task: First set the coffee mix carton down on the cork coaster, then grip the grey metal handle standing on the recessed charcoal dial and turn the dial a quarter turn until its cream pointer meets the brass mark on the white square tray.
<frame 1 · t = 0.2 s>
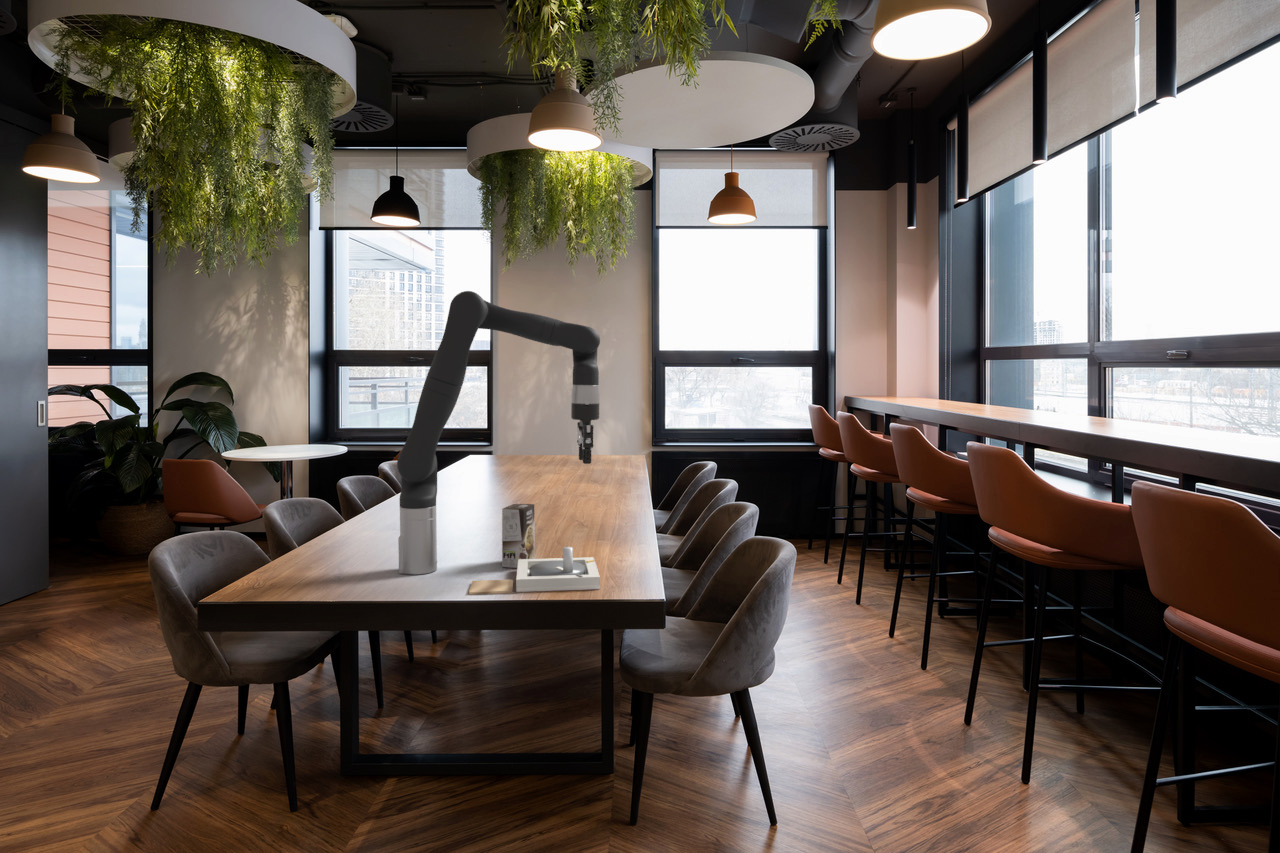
hand: (584, 461, 200), 28 cm above the table, fingers open, 8 cm apart
coffee box: (518, 564, 203), on the table
white square tray: (557, 579, 188), on the table
coaster: (491, 588, 179), on the table
dial: (557, 559, 187), point 5 cm above the table, hinge at 0.0°
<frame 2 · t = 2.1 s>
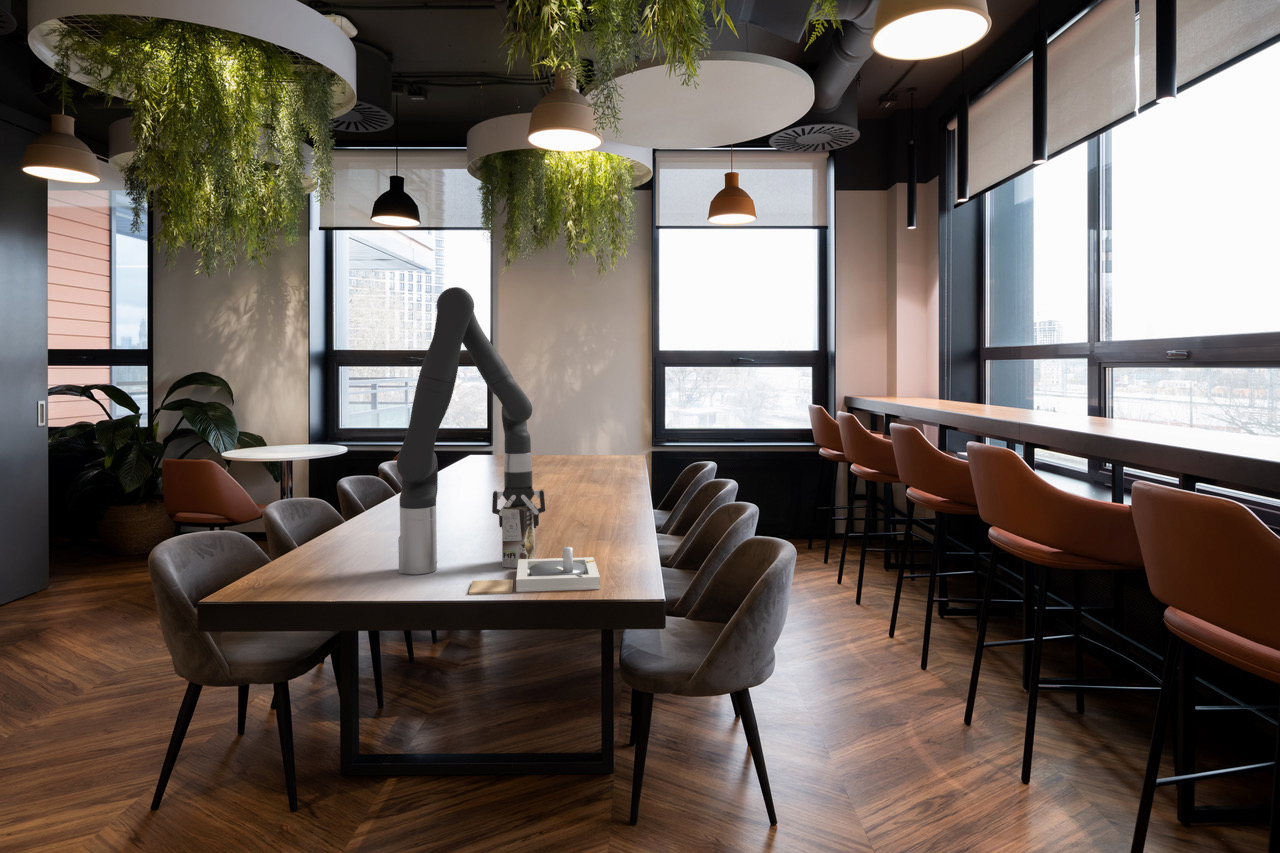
hand: (519, 528, 202), 10 cm above the table, fingers open, 8 cm apart
nothing on the table moved.
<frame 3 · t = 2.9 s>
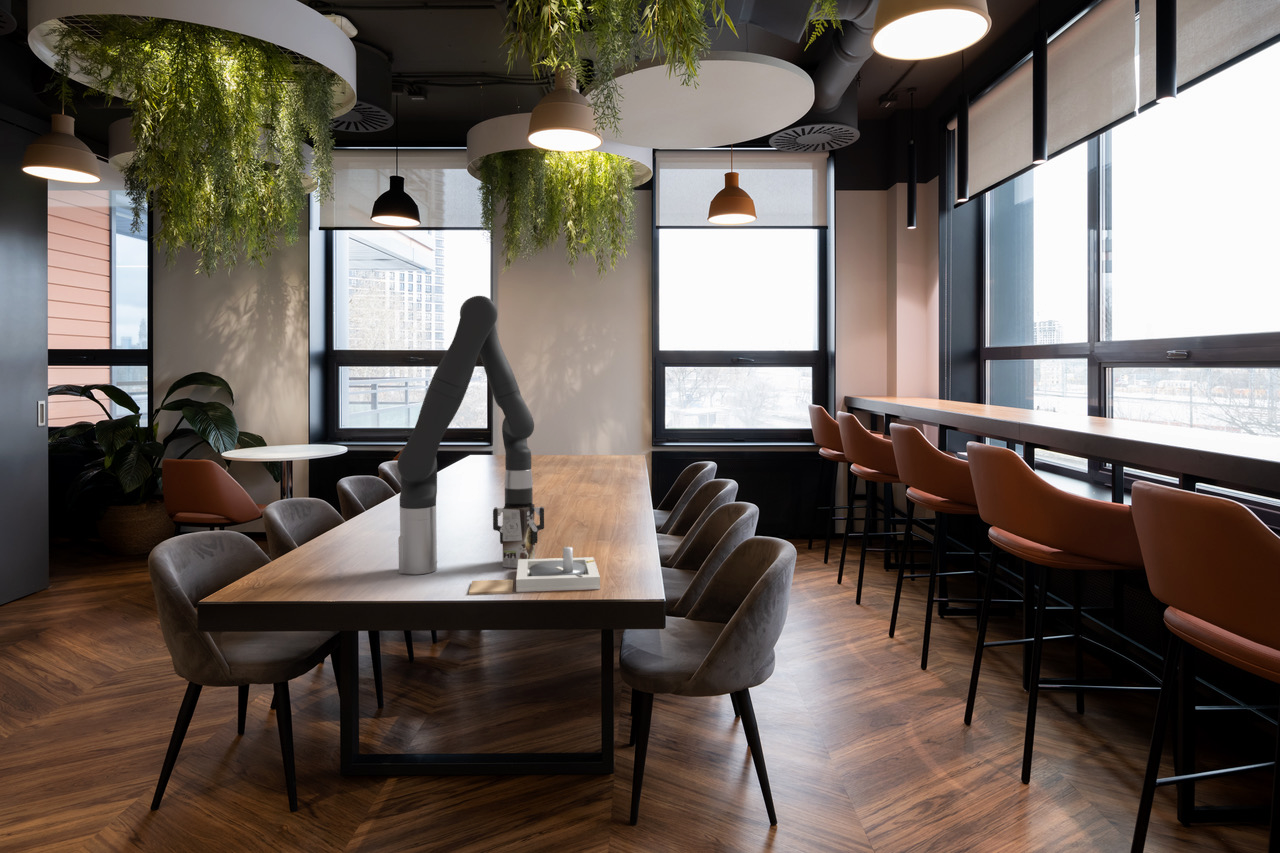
hand: (519, 545, 203), 5 cm above the table, fingers closed on coffee box, 7 cm apart
coffee box: (519, 564, 203), on the table, touching gripper
everything else where it was.
when the fingers open (7 cm above the table, at t = 9.5 s): coffee box drops 1 cm, resting on coaster.
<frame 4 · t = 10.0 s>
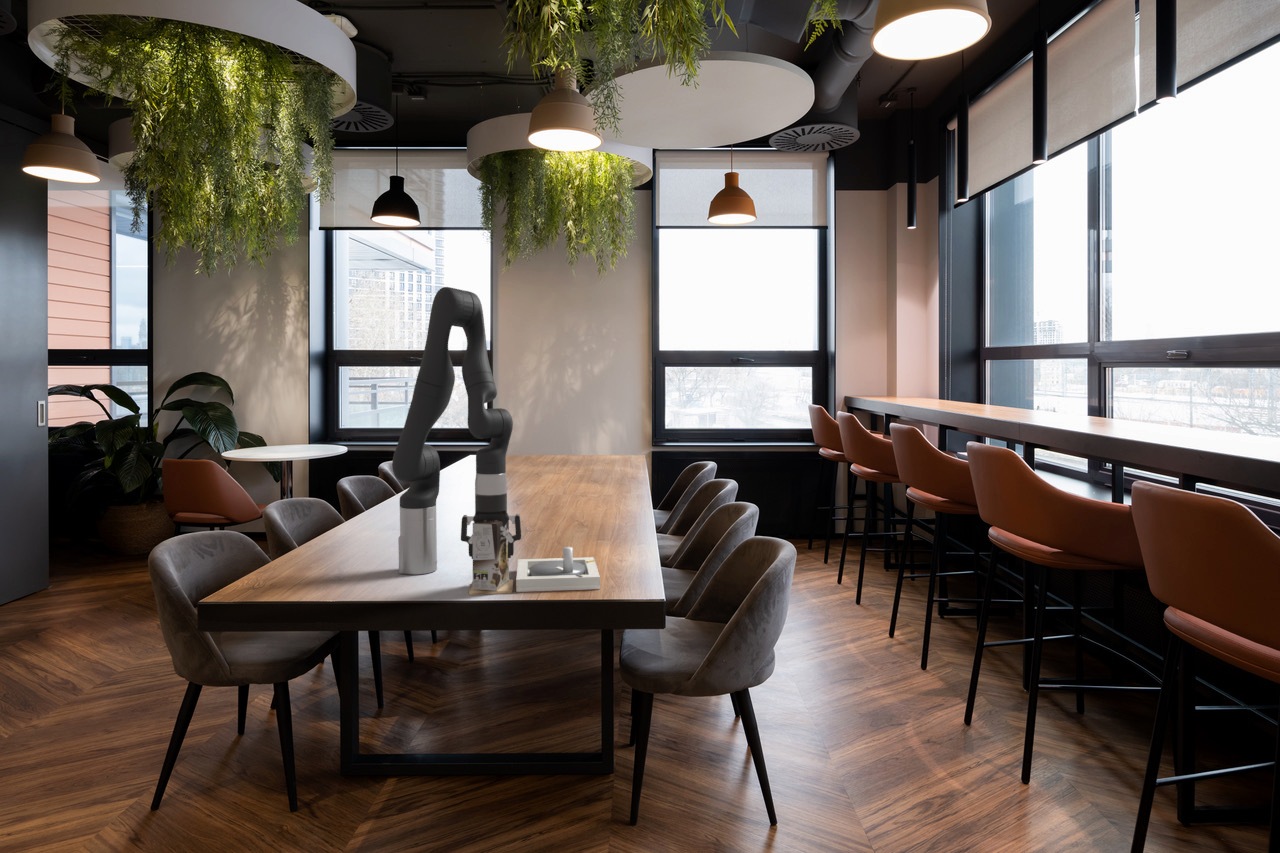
hand: (491, 557, 179), 7 cm above the table, fingers open, 8 cm apart
coffee box: (491, 586, 179), resting on coaster
everything else where it was.
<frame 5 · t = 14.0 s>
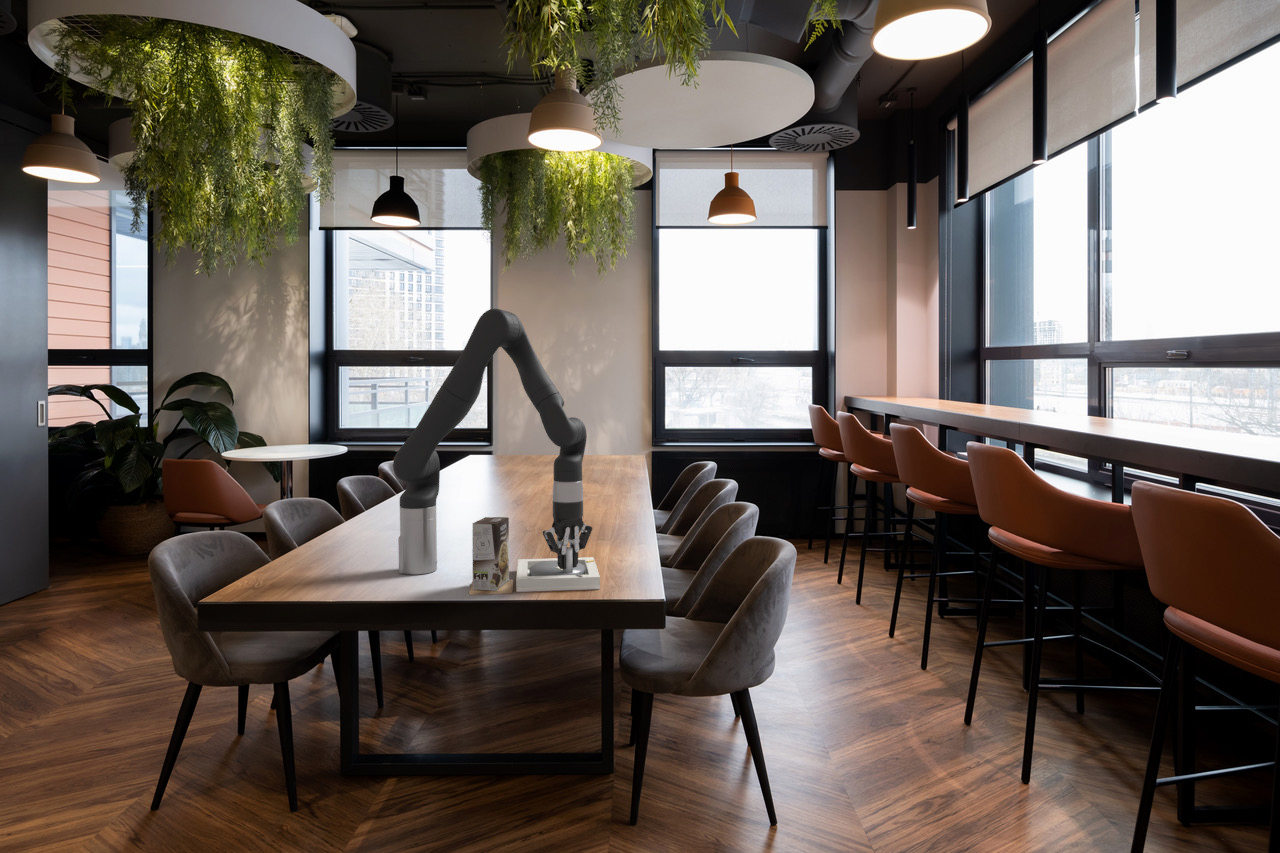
hand: (567, 567, 183), 4 cm above the table, fingers closed on dial, 2 cm apart
dial: (557, 559, 187), point 5 cm above the table, hinge at -0.3°, touching gripper
everything else where it was.
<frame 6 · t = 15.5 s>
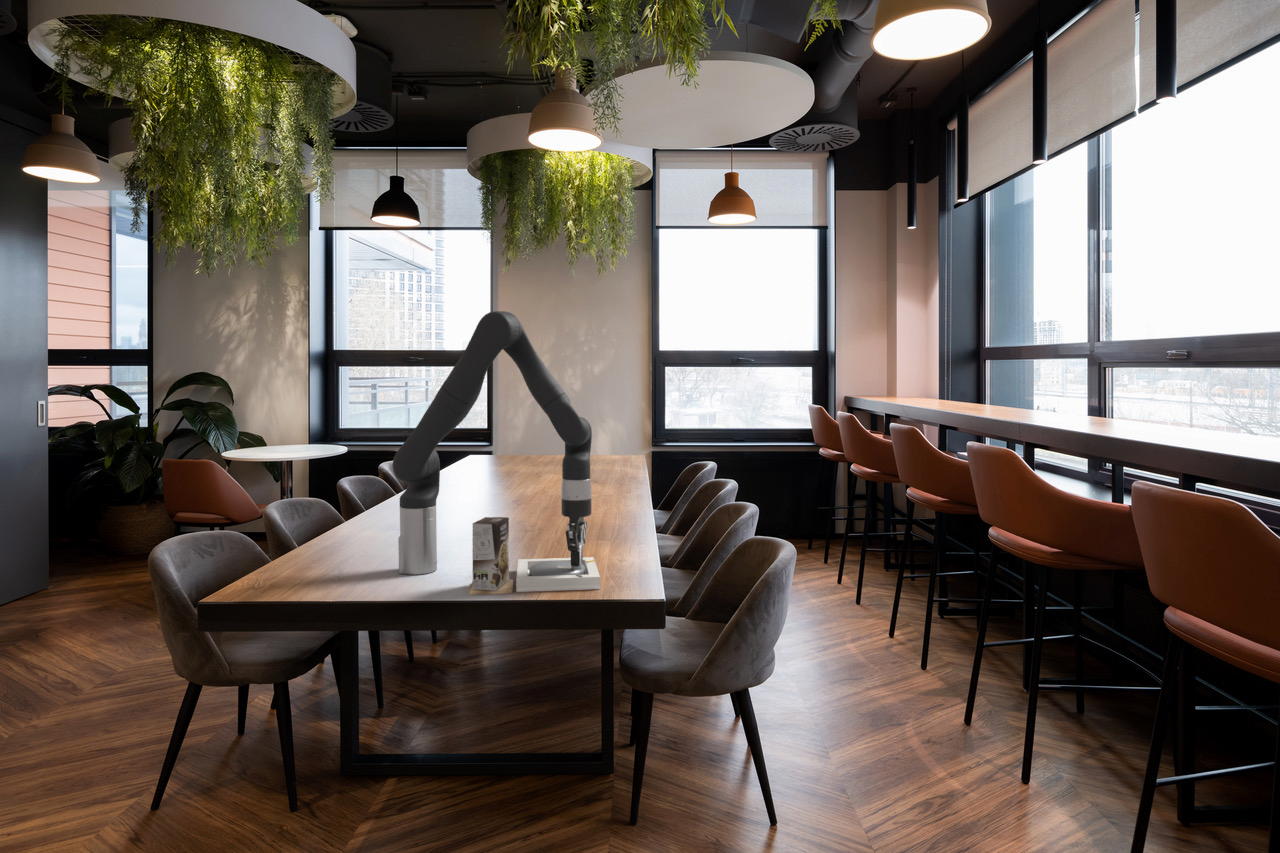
hand: (576, 564, 187), 4 cm above the table, fingers closed on dial, 2 cm apart
dial: (557, 559, 187), point 5 cm above the table, hinge at 43.2°, touching gripper
everything else where it was.
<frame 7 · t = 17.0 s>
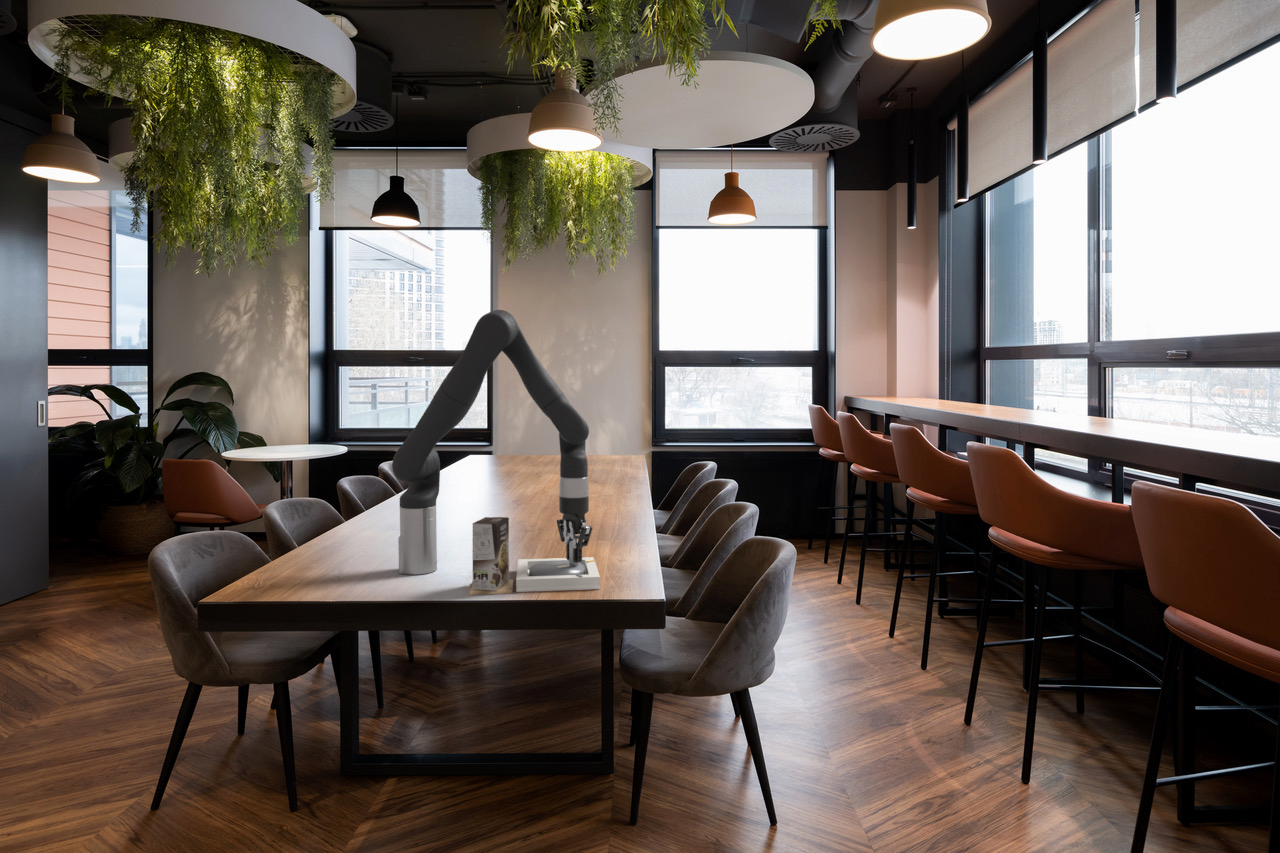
hand: (574, 560, 190), 4 cm above the table, fingers closed
dial: (557, 559, 187), point 5 cm above the table, hinge at 89.3°
everything else where it was.
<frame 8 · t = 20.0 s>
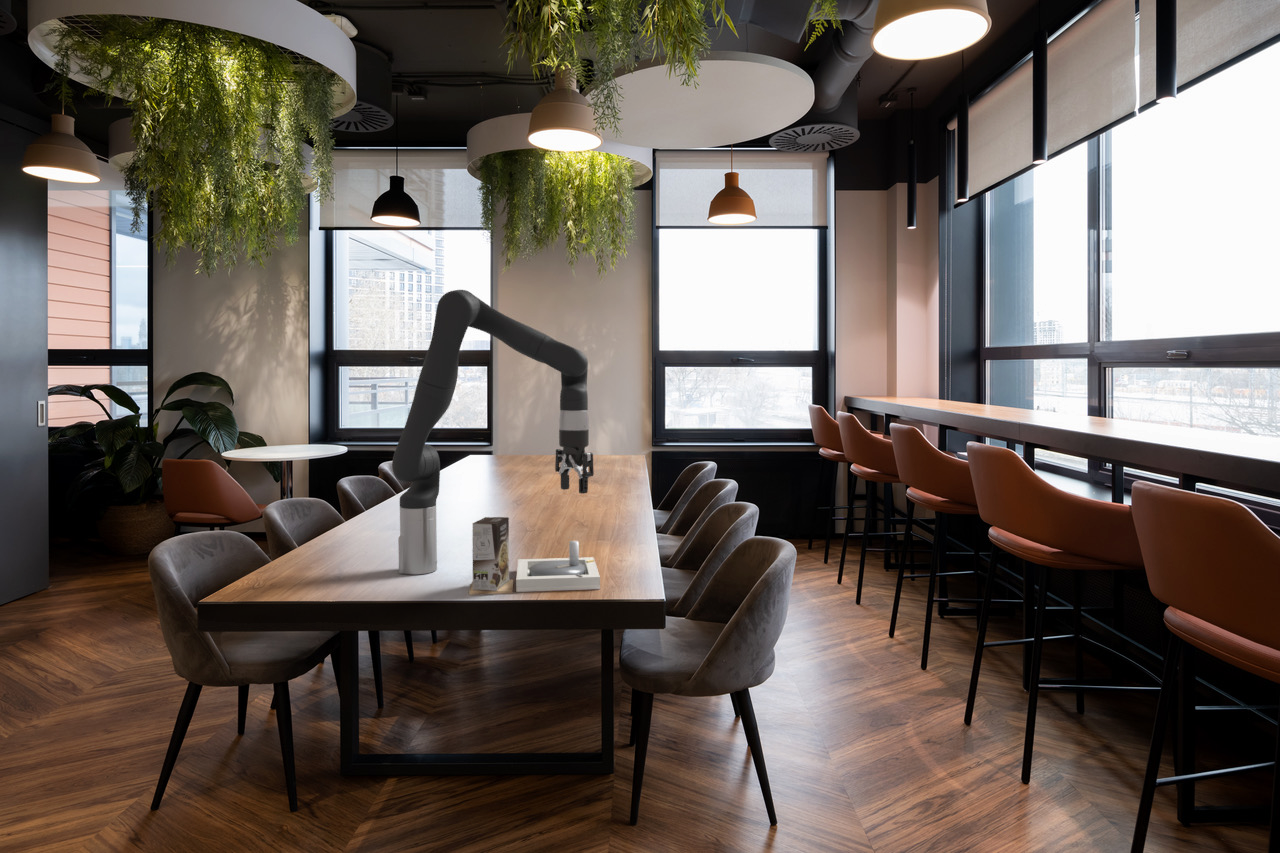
hand: (573, 491, 189), 22 cm above the table, fingers open, 8 cm apart
nothing on the table moved.
at the end: dial at +89° (first picture: +0°); coffee box 0.1 cm from the coaster (horizontally); coffee box tilted 0° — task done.
